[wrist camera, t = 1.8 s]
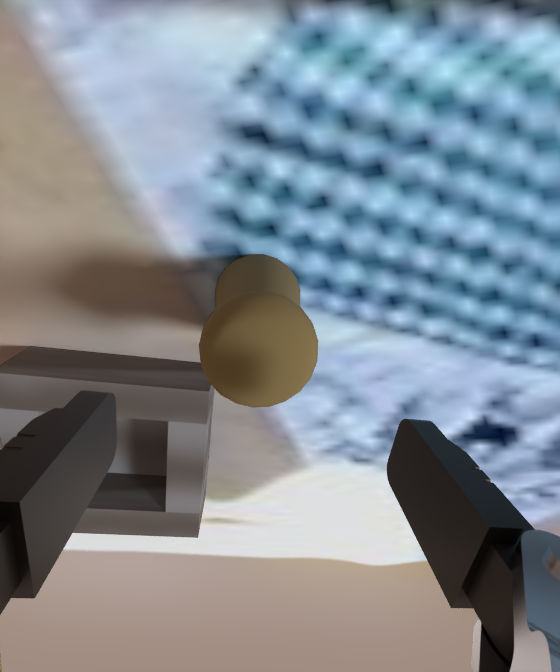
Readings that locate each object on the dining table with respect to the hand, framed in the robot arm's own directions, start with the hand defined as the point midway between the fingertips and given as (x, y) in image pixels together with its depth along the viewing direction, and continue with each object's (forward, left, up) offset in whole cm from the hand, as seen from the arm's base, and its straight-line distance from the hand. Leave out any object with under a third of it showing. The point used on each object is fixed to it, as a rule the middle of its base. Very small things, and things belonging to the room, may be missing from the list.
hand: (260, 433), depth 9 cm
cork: (0, 0, -15) cm, 15 cm away
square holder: (+12, -9, -15) cm, 21 cm away
